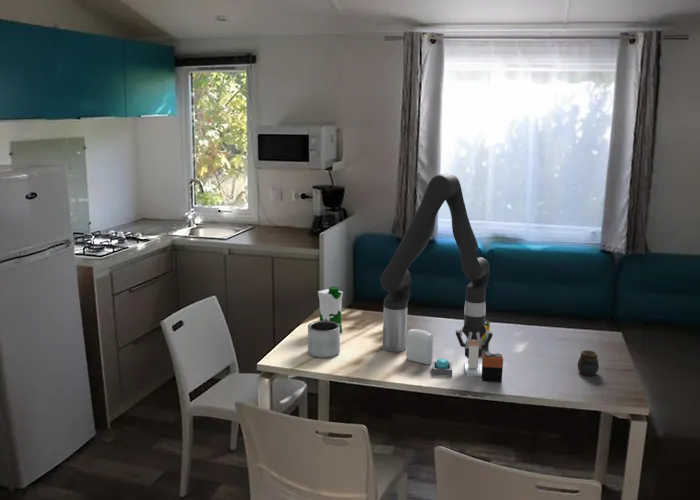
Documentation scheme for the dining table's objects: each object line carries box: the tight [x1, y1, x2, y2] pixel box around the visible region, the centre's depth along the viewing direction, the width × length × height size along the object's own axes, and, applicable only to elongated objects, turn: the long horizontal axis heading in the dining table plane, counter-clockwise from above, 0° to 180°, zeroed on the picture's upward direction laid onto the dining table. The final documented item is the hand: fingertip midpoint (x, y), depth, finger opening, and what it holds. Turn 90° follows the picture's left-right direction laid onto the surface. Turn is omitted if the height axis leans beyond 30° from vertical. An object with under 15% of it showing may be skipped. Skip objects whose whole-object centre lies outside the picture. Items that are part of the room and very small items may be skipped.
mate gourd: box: [577, 349, 600, 377], centre depth 239 cm, size 7×8×10 cm
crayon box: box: [481, 319, 491, 351], centre depth 264 cm, size 7×3×12 cm, turn 23°
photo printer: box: [405, 328, 434, 365], centre depth 249 cm, size 10×4×12 cm, turn 55°
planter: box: [307, 320, 341, 359], centre depth 257 cm, size 12×13×11 cm
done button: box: [435, 358, 449, 369], centre depth 240 cm, size 4×4×3 cm
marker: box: [467, 340, 479, 368], centre depth 242 cm, size 3×3×10 cm
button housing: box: [431, 360, 453, 377], centre depth 241 cm, size 7×7×2 cm
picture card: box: [463, 362, 482, 377], centre depth 242 cm, size 12×10×1 cm
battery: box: [481, 351, 504, 383], centre depth 233 cm, size 4×7×10 cm, turn 83°
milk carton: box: [317, 286, 344, 334], centre depth 278 cm, size 9×9×20 cm
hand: (473, 357), depth 243 cm, fingers closed on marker, 3 cm apart
